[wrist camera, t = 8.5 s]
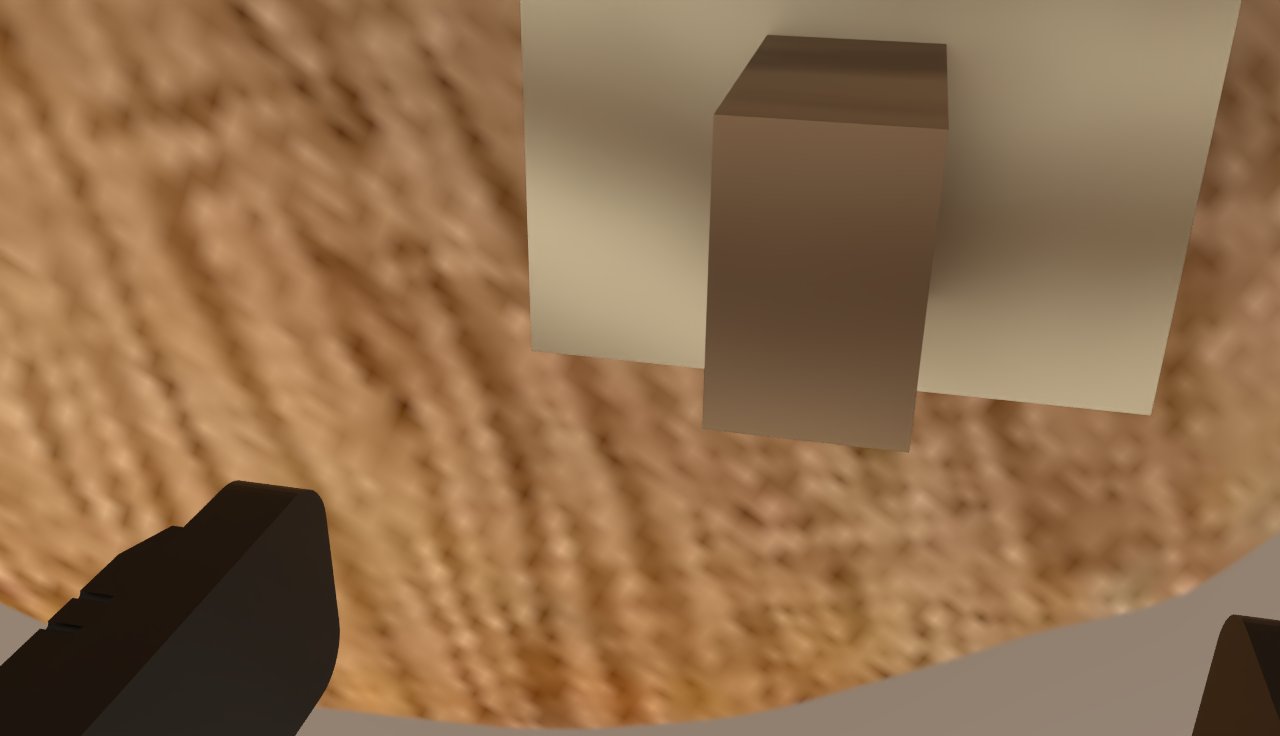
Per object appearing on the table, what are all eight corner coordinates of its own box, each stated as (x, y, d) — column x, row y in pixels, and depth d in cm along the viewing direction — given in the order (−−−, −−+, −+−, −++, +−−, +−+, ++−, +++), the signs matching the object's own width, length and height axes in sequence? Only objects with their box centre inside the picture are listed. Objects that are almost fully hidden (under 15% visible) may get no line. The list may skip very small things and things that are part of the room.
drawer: (541, -404, 22) (352, -490, 15) (1302, -418, 19) (1508, -530, 12) (557, 314, 28) (428, 494, 21) (1136, 371, 25) (1210, 597, 18)
